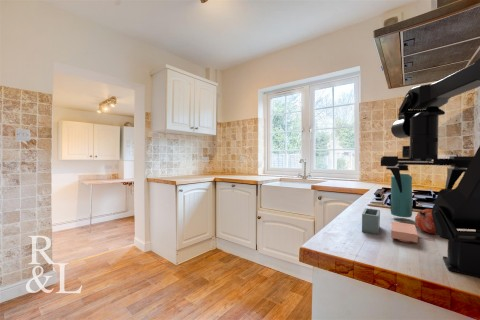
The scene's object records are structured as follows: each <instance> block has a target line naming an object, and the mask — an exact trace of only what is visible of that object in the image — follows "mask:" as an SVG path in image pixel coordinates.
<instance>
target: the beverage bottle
mask: <svg viewBox="0 0 480 320" xmlns="http://www.w3.org/2000/svg"><path fill="white" fill-rule="evenodd" d="M398 167H399V170H400V172H401V171H405V172H408V171H409V165H399V166H398ZM400 177H401V183H402V193H400V191H399V188H398V185H397V182H396V179H395V177H394V175H393V174H391V176H390V202H389V203H390V209H389V210H390V214H391V215H392V216H393V217H394V216H395V217H401V218H412V216H413V201H414V200H413V176H412V175H410V174H409V173H400Z"/></svg>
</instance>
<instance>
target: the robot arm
mask: <svg viewBox="0 0 480 320" xmlns="http://www.w3.org/2000/svg"><path fill="white" fill-rule="evenodd" d="M478 88H480V57H479V58H478V59H477V60H475V62H473V63H471V64H470V65H468V66H466V67H464V68H462V69H460V70H457V71H455V72H454V73H452V74H450V75H448V76H446V77H444V78H442V79H440V80H438V81H436V82H433V83H428V84H423V85H418V86H414V87H412V88H410V89H409V90H408V92H407V93H406V94H405V97H404V99H403V101H402V103H401V105H400V106H399V108H398V111H399V112H398V114H397V116H398V117H397V118H398V120H395V122H394V123H392V125H391V128H390V130H391V134H392V135H393V136H394V137H396V138H397V139H406V138H409V145H402V147H401V149H402V150H401V153H402V155H401V158H400V157H399V155H397V156H395V155H393V156H392V155H389V156H388V155H386V156H385V155H383V156H382V157H381V158H380V167H386V168H385V170H390V171H391V174H392V175H394V177H395V179H396V182H397V185H398V188H399V191H400V193H402V183H401V177H400V174H401V173H400V172H401V171H400V170H399V167H398V166H399V165H408V166H410V165H412V166H449V168H446V169H447V170H446V171H447V172H446V181H445V187H444V188H441V189H440V190H438V192H437V196H436V198H435V199H434V200H433V201H432V204H433V206H432V208H431V209H432V212H431V213H432V217H433V222H434V226H435V231H436V234H435V235H438V236H439V238H441V239H444V240H447V256H445V255H444V256H442V260H443V262H444V264H445V267H446V269H447V270H448V271H451V272H455V273H461V274H464V275H468V276H474V277H477V278H480V145H479V146H478V147H477V149H476V152H475V153H474V155H469V156H467V155H466V156H463V155H459V156H458V155H454V156H453V155H451V156H449V158H439V116H442V115H443V116H444V115H445V113H446V112H445V111H444V110H443V109H442V108H441V107H442V106H444V105H446V104H447V103H448V102H449V100H450V99H451V98H453V97H455V96H459V95H461V94H464V93H466V92H470V91H472V90H474V89H478ZM463 173H464V174H463ZM462 174H463V175H462ZM461 175H462V177H461ZM460 177H461V179H460V180H459V182H458V184H457V186H456V187H455V188H454V186H455V184H456V183H457V180H458V179H459V178H460ZM472 230H473V231H472Z"/></svg>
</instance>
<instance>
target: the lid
mask: <svg viewBox="0 0 480 320" xmlns="http://www.w3.org/2000/svg"><path fill="white" fill-rule="evenodd" d="M390 227H391V229H390V238H391V239H396V240H398V241H400V242H405V243H410V242H412V243H418V236H419V235H418V231H417V227H416V224H411V223H405V222H397V221H391V225H390Z"/></svg>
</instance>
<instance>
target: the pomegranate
mask: <svg viewBox="0 0 480 320" xmlns="http://www.w3.org/2000/svg"><path fill="white" fill-rule="evenodd" d="M432 209H433V208H425V209H423V210H419V211H418V212H417V214H416V216H415V218H414V221H415V226H417V228H418V229H419V230H422V232H426V233H428V234H431V235H437V234H436V231H435V226H434V222H433V217H432V213H431V212H432Z"/></svg>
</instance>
